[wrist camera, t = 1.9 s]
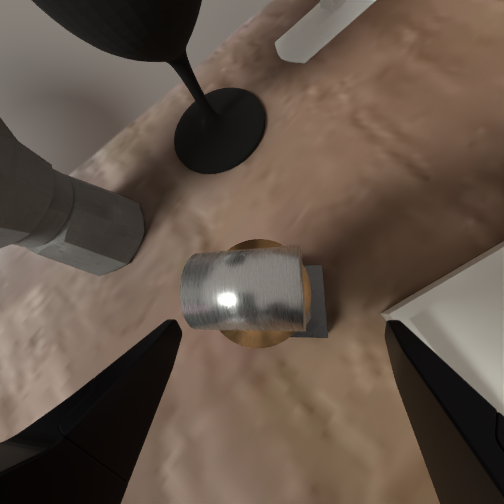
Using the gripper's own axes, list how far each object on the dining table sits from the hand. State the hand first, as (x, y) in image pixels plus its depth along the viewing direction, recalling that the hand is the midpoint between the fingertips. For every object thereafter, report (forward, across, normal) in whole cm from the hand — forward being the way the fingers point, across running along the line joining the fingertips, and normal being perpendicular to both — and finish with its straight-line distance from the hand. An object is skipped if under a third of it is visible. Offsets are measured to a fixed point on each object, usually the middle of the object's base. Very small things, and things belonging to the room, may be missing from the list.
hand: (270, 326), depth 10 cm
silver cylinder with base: (+7, 0, +6) cm, 9 cm away
